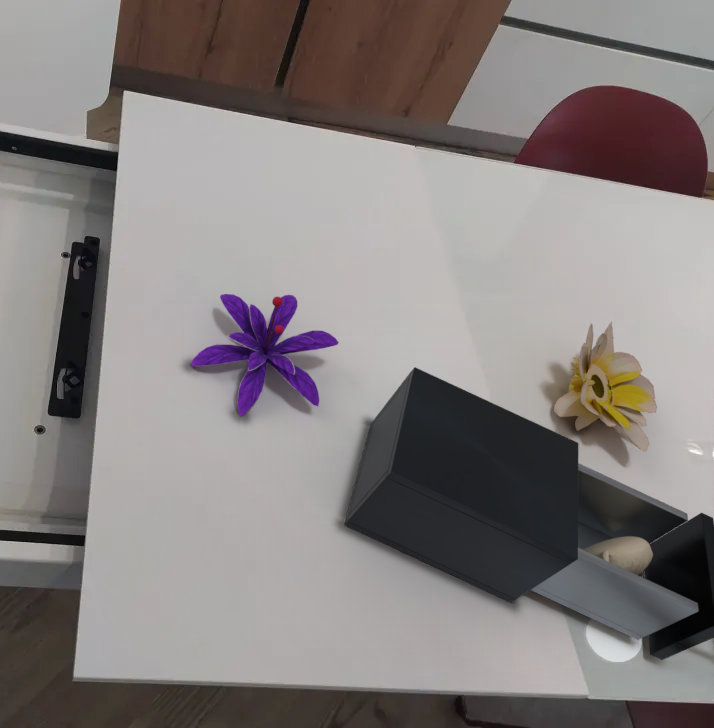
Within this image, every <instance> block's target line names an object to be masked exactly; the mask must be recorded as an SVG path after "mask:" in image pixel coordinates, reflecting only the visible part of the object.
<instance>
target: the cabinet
mask: <svg viewBox="0 0 714 728" xmlns="http://www.w3.org/2000/svg"><path fill="white" fill-rule="evenodd" d="M578 463H579V442H578V441H576V440H574V439H571V438H569V437H568V436H564V435H562V434H560V433H558V432H556V431H554V430H552V429H550V428H547V427H545V426H544V425H541V424H539V423H536V422H535V421H533V420H531V419H528V418H525V417H524V416H522V415H519V414H517V413H515V412H512V411H511V410H508V409H506V408H504V407H502V406H500V405H498V404H495V403H493V402H492V401H489V400H487V399H485V398H482V397H481V396H478V395H476V394H474V393H472V392H470V391H467V390H465V389H463V388H461V387H458V386H457V385H455V384H452V383H451V382H449V381H446V380H443V379H442V378H440V377H437V376H435V375H433V374H431V373H428V372H426V371H424V370H422V369H420V368H419V367H416V366H415V367H413V368H412V370H411V371H410V372H409V373H408V374H407V376H406V377H405V379H404V380H403V381H402V382H401V384H400V385H399V386H398V387H397V389H396V390H395V392H394V393H393V394H392V395H391V397H390V398H389V399H388V401H387V402H386V403H385V404H384V406H383V407H382V408H381V410H380V411H379V412H378V414H377V415H376V416H375V417H374V419H373V420H372V421H371V422H370V426H369V429H368V432H367V437H366V440H365V445H364V448H363V453H362V457H361V459H360V464H359V467H358V471H357V475H356V478H355V483H354V487H353V490H352V494H351V498H350V502H349V506H348V509H347V514H346V517H345V522H344V526H345V527H348V528H350V529H352V530H353V531H356V532H358V533H360V534H363V535H365V536H367V537H369V538H371V539H373V540H376V541H378V542H380V543H382V544H384V545H386V546H389V547H391V548H393V549H395V550H397V551H399V552H401V553H403V554H405V555H408V556H410V557H412V558H414V559H417V560H419V561H420V562H423V563H425V564H427V565H430V566H431V567H433V568H436V569H438V570H440V571H443V572H444V573H447V574H448V575H451V576H452V577H455V578H458V579H460V580H462V581H464V582H465V583H468V584H470V585H472V586H474V587H477V588H479V589H480V590H483V591H485V592H488V593H490V594H492V595H494V596H495V597H498V598H500V599H503V600H505V601H507V602H509V603H513V602H515V601H516V600H518V599H520V598H521V597H522V596H524V595H525V594H527V593H529V592H531V591H532V590H531V589H533V588H535V587H536V586H538V585H539V584H541V583H542V582H544V581H545V580H547V579H548V578H550V577H552V576H553V575H555V574H556V573H558V572H559V571H561V570H562V569H564V568H565V567H567V566H568V565H570V564H571V563H573V562H575V561H576V560H577V559H578Z"/></svg>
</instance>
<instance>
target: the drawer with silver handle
mask: <svg viewBox="0 0 714 728" xmlns="http://www.w3.org/2000/svg"><path fill="white" fill-rule="evenodd" d="M688 515H689V514H688V513H687V512H685V511H683V510H681V509H678V508H676V507H674V506H672V505H670V504H667V503H666V502H663V501H661V500H659V499H656V498H655V497H652V496H650V495H648V494H646V493H644V492H642V491H640V490H637V489H635V488H633V487H631V486H629V485H626V484H624V483H622V482H620V481H618V480H616V479H614V478H612V477H609V476H607V475H606V474H603V473H601V472H599V471H596V470H594V469H592V468H590V467H588V466H585V465H583V464H581V463H579V462H578V559H577V560H576V561H575V562H573V563H571V564H570V565H568V566H567V567H565V568H564V569H562V570H561V571H559V572H558V573H556V574H555V575H553V576H552V577H550V578H548V579H547V580H545V581H544V582H542V583H541V584H539V585H538V586H536V587H535V588H533V589H531V590H530V591H532V592H534V593H536V594H538V595H540V596H543V597H544V598H547V599H549V600H551V601H553V602H555V603H558V604H560V605H562V606H564V607H566V608H568V609H570V610H572V611H575V612H577V613H579V614H582V615H583V616H586V617H588V618H590V619H592V620H594V621H596V622H598V623H600V624H602V625H604V626H607V627H609V628H611V629H614V630H616V631H618V632H620V633H622V634H624V635H626V636H629V637H631V638H633V639H635V640H637V641H640V640H641V639H643V638H645V637H648V649H649V650H648V651H649V656H652V657H654V658H656V659H658V660H660V661H663V660H666V659H668V658H670V657H673V656H675V655H677V654H679V653H682V652H684V651H686V650H689V649H691V648H693V647H696V646H699V645H700V644H703V643H705V642H708V641H711V640H713V639H714V517H712V516H710V515H708V514H706V513H704V512H700V513H698V514H697V515H695V516H693V517H692V518H690V519H689V516H688ZM626 536H633V537H639V538H642V539H644V540H646V541H647V542H648V543H649V545H650V547H651V550H652V553H653V557H652V560H651V562H650V563H649V565H648V566H647V567H646V568H645V569H644V570H643V573H644V577H642V576H641V573H640V574H639V575H636V574H634V573H632V572H630V571H627V570H625V569H623V568H621V567H619V566H617V565H615V564H612V563H610V562H608V561H606V560H604V559H602V558H599V557H597V556H595V555H593V554H591V553H589V552H587V551H584V550H583V549H585V548H587V547H590V546H592V545H595V544H597V543H600V542H602V541H605V540H609V539H613V538H618V537H626Z"/></svg>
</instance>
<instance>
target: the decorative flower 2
mask: <svg viewBox="0 0 714 728" xmlns="http://www.w3.org/2000/svg"><path fill="white" fill-rule="evenodd" d="M593 327H594V326H593V323H590V325H589V328H588V330H587V333H586V338H585V342H584V343H583V344H582V345H581V347H580V352H579V355H578V358H576V357H571V359H572V360H573V361H574V362H571V361H570V362H569V363H570V364H571V366H572V367H573V368H571V370H572V372H573V373H574V375H573V376H572V378H571V379H570V381H569V385H568V392H566V393H565V394H563V395H562V396H561V397H560V398H558V399H557V400H556V403H555V404H554V409H553V410H554V413H555V414H556V415H557V416H559V417H560V418H565V417H566V418H567V417H576V419H575V422H574V426H575V430H576V431H577V432H578V431H580V430H582V429H584V428H587V427H588V426H590V425H591V424H593V423H594V422H596V421H597V420H598V419H599V420H600V421H601V422H603V423H604V424H605V425H606V426H607V427H608V428H609V427H612V428H613V429H614V430H615V431H616V432H617V433H618V434H619V435H620V436H622V437H623V438H624V439H625V440H626V441H627V442H629V443H630V444H631V445H633V446H635V447H636V448H637V449H639V450H640V451H641V452H643V453H646V452H647V450H648V449H649V447H650V439H649V437H648V436H647V434H646V432H645V431H644V430H643V428H641V427H646V426H647V419H646V418H645V416H644V415H643V414H642V413H645V414H646V413H647V414H656V413H657V410H658V405H657V402H656V400H655V399H656V393H655V388H654V387H655V386H654V385H653V383H652V382H651V381H650V379H649V378H647V377H645V376H644V375H643V374H641V373H642V371H643V368H642V365H641V363H640V361H639V360H638V359H637V358H636V356H635V355H633V354H630V353H629V352H628V353H627V352H623V351H615V346H614V344H615V343H614V332H613V331H614V330H613V321H612V320H611V321H610V323H609V324H608V325H607V327H606V328H605V330H604V332H602V333H601V334H600V335H599V336H598V337H597V340H596V341H595V345H594V346H593V342H594V328H593ZM635 422H636V423H635ZM639 425H640V426H641V427H640V426H639Z"/></svg>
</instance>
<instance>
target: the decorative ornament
mask: <svg viewBox="0 0 714 728" xmlns="http://www.w3.org/2000/svg"><path fill="white" fill-rule="evenodd" d="M583 550H584V551H587V552H589V553H591V554H593V555H595V556H597V557H599V558H602V559H604V560H606V561H608V562H610V563H612V564H615V565H617V566H619V567H621V568H623V569H625V570H627V571H630V572H632V573H634V574H636V575H639V574H640V575H641V574H642V573H644V569H645V568H646V567H647V566H648V565H649V563H650V562H651V560H652V557H653V553H652V550H651V547H650V545H649V543H648V542H647V541H646V540H644V539H642V538H639V537H633V536H626V537H618V538H613V539H609V540H605V541H602V542H600V543H597V544H595V545H592V546H590V547H587V548H585V549H583Z"/></svg>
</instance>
